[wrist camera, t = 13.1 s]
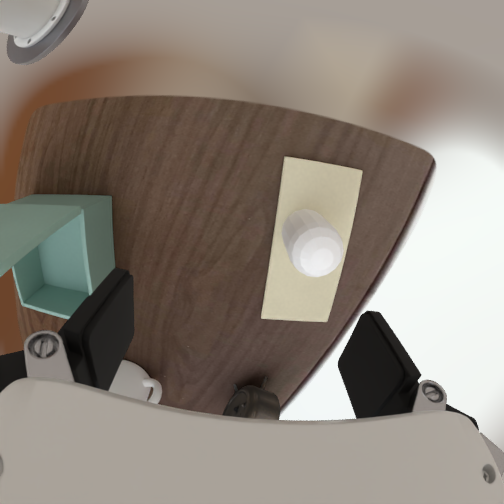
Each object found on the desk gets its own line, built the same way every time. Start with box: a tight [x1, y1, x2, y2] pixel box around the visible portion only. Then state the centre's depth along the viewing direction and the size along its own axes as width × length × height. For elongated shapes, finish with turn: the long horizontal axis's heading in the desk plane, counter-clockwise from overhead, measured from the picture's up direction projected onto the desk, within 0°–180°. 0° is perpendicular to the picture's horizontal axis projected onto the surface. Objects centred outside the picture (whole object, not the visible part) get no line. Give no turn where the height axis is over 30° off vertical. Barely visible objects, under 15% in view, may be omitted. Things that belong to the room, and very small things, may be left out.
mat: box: [261, 156, 363, 322], centre depth 31 cm, size 20×9×1 cm, turn 173°
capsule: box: [281, 209, 344, 277], centre depth 27 cm, size 5×5×8 cm
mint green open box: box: [8, 194, 115, 319], centre depth 28 cm, size 14×14×7 cm
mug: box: [109, 360, 162, 404], centre depth 35 cm, size 12×8×10 cm
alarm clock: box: [223, 376, 280, 420], centre depth 33 cm, size 11×5×16 cm, turn 148°
